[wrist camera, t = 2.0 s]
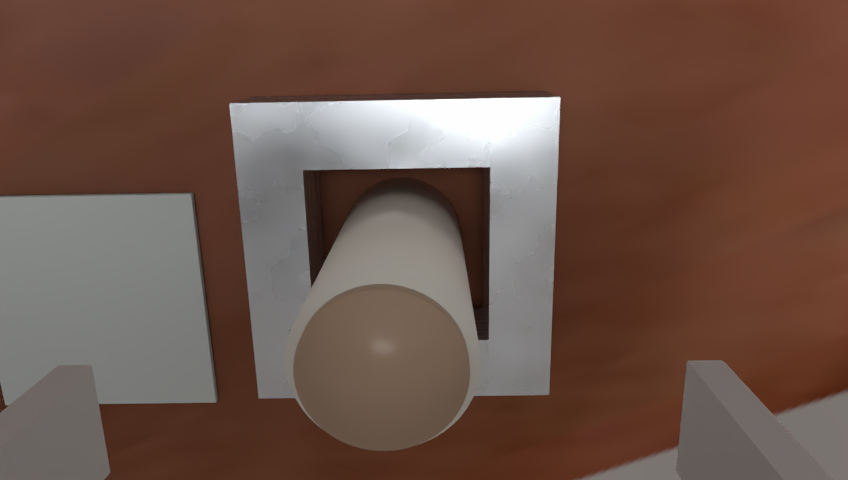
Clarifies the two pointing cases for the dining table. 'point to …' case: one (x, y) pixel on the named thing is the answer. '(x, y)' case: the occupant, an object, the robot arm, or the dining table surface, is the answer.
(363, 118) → the housing
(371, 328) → the off-white cylinder
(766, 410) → the robot arm
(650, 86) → the dining table surface
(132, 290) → the pad
